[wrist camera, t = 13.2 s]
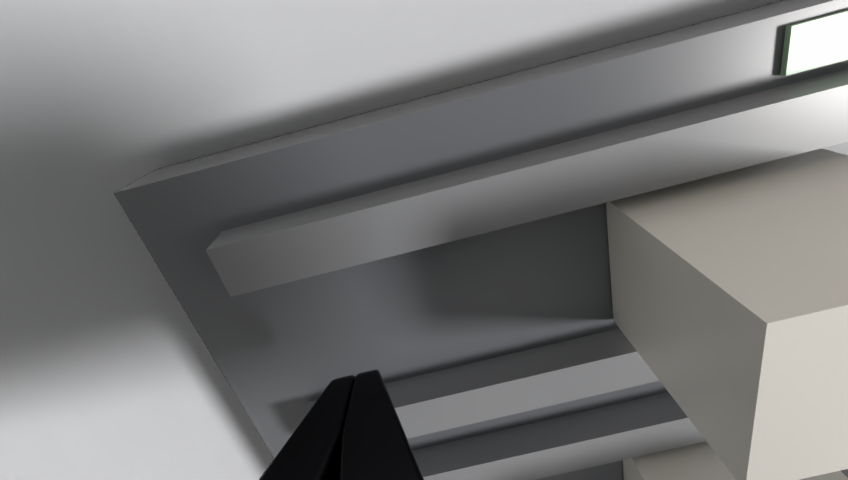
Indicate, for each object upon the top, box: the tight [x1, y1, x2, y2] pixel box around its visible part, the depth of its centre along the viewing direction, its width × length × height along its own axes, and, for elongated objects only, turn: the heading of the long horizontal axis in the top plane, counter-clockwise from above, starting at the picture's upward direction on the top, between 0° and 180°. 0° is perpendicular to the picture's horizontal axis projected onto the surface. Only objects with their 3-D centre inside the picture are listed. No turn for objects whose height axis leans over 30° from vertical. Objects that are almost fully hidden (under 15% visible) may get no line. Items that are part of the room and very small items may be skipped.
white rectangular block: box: [606, 148, 848, 480], centre depth 7 cm, size 4×3×4 cm
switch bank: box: [114, 0, 848, 480], centre depth 11 cm, size 18×15×2 cm
